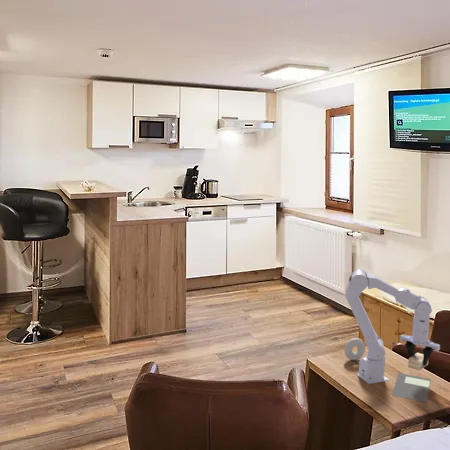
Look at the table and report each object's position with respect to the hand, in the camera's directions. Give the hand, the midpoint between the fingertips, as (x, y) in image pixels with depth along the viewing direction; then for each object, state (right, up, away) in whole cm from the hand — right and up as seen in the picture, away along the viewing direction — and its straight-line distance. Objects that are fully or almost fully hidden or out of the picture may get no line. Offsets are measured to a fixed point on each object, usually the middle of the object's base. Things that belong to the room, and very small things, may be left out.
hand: (418, 362), depth 185 cm
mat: (-4, -9, -3) cm, 10 cm away
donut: (-19, -5, +22) cm, 29 cm away
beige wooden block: (0, -1, 0) cm, 1 cm away
